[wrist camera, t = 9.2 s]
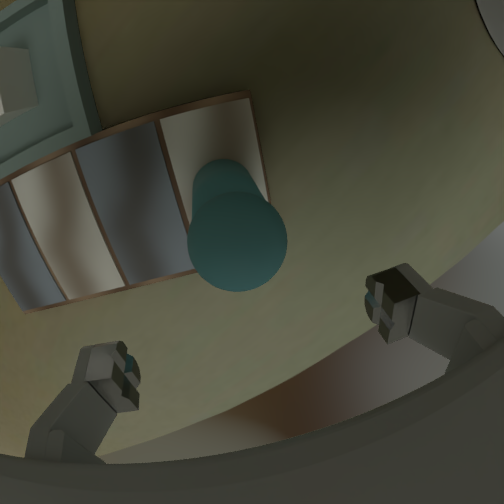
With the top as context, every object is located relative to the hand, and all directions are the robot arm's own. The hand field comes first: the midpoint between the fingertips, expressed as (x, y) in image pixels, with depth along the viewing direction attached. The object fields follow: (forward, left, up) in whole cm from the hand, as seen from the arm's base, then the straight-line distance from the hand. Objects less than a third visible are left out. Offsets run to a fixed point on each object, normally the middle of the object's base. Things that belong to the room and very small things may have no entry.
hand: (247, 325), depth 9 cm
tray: (+13, -12, -14) cm, 22 cm away
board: (+9, 0, -14) cm, 16 cm away
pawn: (0, 0, -12) cm, 12 cm away
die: (+13, -12, -13) cm, 22 cm away
